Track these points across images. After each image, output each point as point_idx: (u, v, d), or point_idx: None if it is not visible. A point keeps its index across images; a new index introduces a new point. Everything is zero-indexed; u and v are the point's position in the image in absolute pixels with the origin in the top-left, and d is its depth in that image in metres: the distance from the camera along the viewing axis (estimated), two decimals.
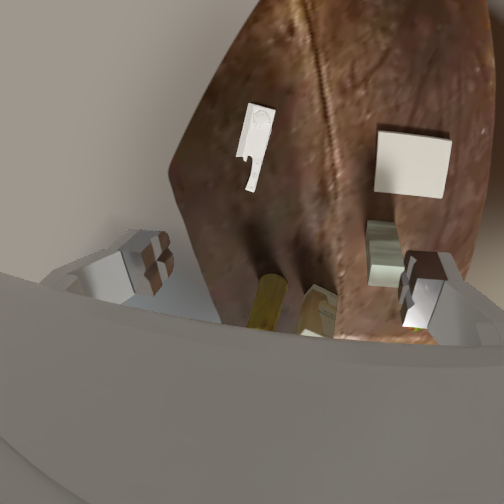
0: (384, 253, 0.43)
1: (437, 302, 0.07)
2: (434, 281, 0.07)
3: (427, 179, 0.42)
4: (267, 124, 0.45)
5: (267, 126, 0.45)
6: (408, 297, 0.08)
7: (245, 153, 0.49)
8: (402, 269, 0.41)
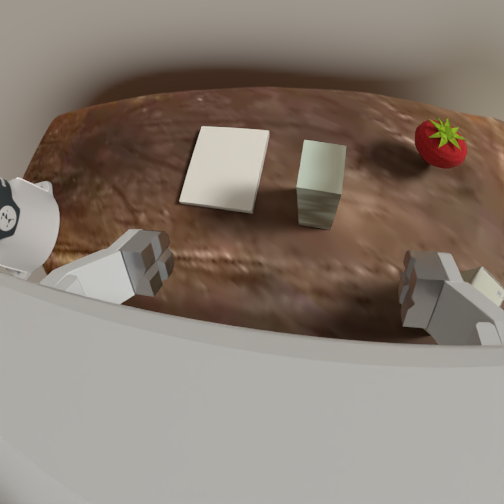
0: None
1: (437, 301, 0.07)
2: (434, 281, 0.07)
3: (242, 148, 0.41)
4: None
5: None
6: (408, 297, 0.08)
7: None
8: (309, 142, 0.28)
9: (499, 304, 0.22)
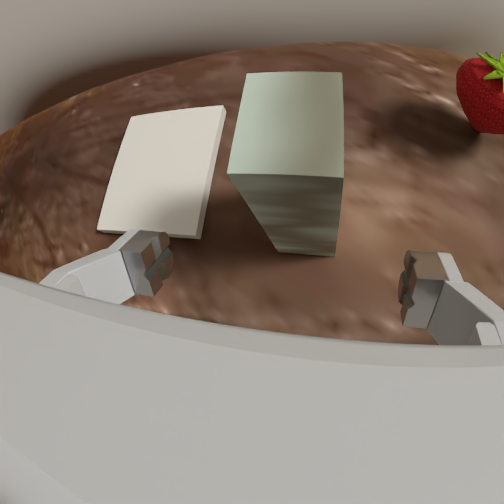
0: None
1: (437, 301, 0.07)
2: (434, 281, 0.07)
3: (183, 137, 0.25)
4: None
5: None
6: (408, 297, 0.08)
7: None
8: (257, 76, 0.12)
9: None
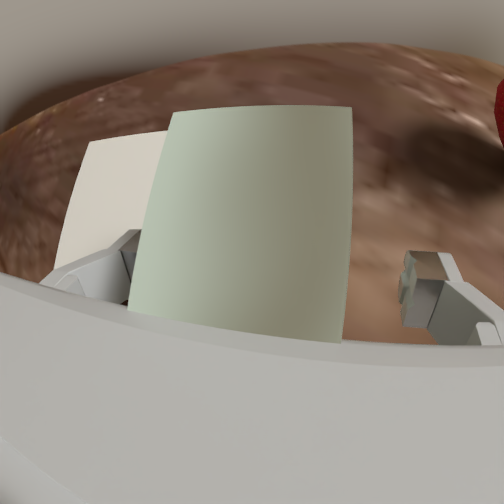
0: None
1: (437, 302, 0.07)
2: (434, 281, 0.07)
3: (143, 171, 0.20)
4: None
5: None
6: (408, 297, 0.08)
7: None
8: (190, 118, 0.06)
9: None
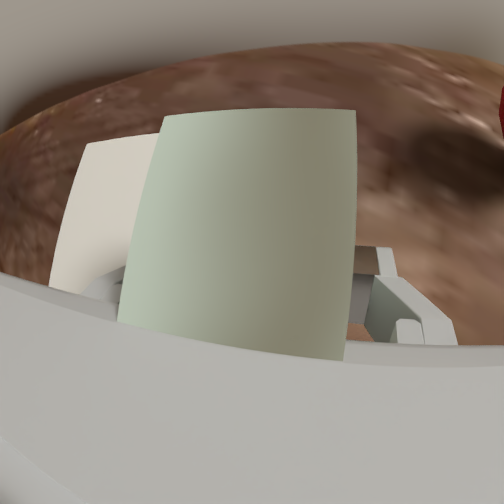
0: None
1: (370, 297, 0.08)
2: (363, 275, 0.08)
3: (140, 173, 0.20)
4: None
5: None
6: None
7: None
8: (182, 122, 0.06)
9: None
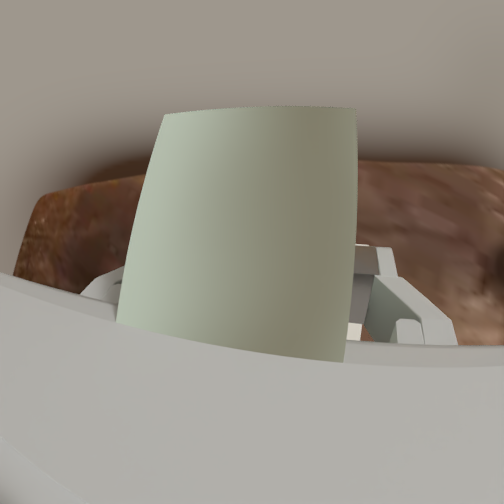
0: None
1: (370, 297, 0.08)
2: (363, 275, 0.08)
3: None
4: None
5: None
6: None
7: None
8: (181, 121, 0.06)
9: None
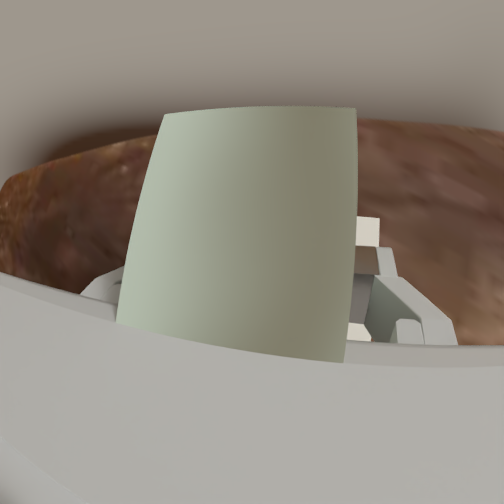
0: None
1: (370, 297, 0.08)
2: (363, 275, 0.08)
3: None
4: None
5: None
6: None
7: None
8: (181, 120, 0.06)
9: None
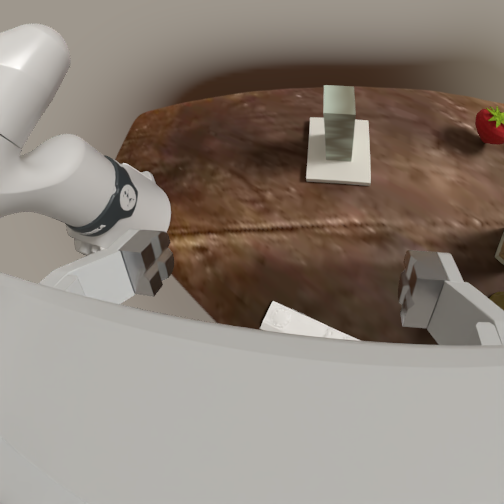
0: None
1: (437, 301, 0.07)
2: (434, 281, 0.07)
3: None
4: (286, 312, 0.43)
5: (289, 312, 0.43)
6: (408, 297, 0.08)
7: None
8: (327, 86, 0.36)
9: None
